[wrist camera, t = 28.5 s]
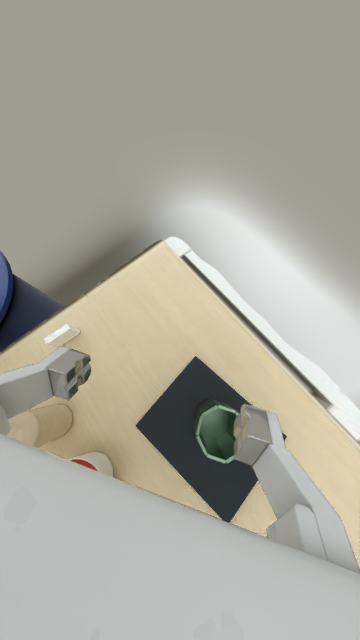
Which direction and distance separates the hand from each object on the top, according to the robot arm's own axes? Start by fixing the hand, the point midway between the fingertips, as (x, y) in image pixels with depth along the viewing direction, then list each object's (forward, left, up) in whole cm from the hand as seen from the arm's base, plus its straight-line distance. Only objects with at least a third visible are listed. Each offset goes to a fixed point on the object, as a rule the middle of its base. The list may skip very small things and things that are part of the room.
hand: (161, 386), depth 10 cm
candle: (-12, -20, -27) cm, 36 cm away
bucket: (+7, +2, -22) cm, 23 cm away
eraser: (-22, -9, -27) cm, 36 cm away
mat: (+9, -3, -27) cm, 29 cm away
